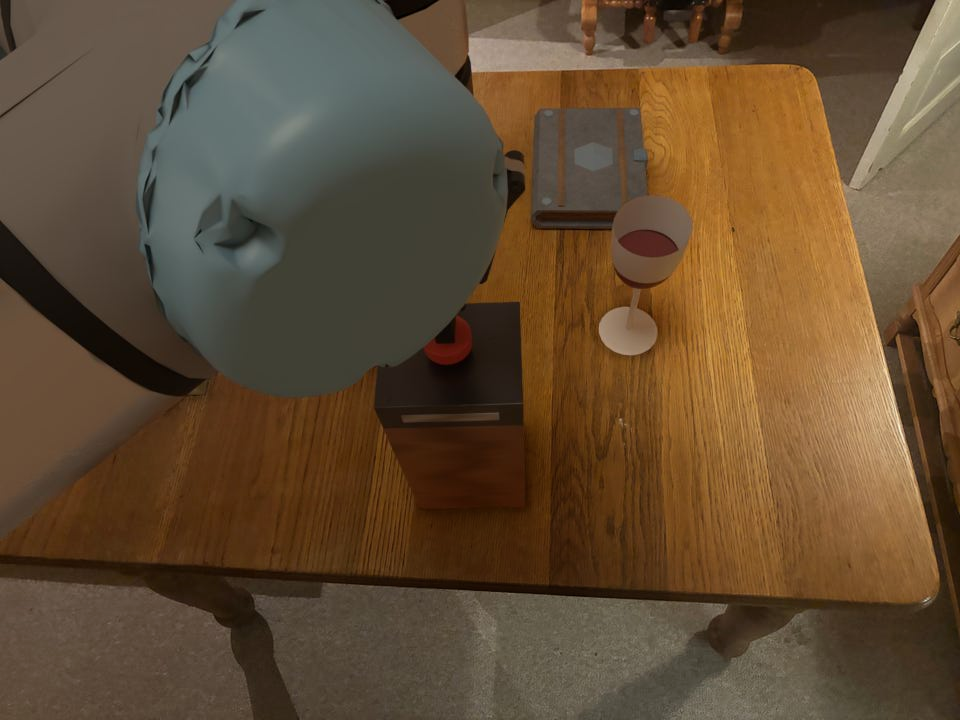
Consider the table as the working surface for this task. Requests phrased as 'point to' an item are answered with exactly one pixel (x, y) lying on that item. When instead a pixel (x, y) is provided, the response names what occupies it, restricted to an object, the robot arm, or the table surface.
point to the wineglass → (643, 265)
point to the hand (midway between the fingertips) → (446, 328)
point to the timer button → (451, 346)
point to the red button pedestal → (461, 416)
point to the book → (586, 166)
